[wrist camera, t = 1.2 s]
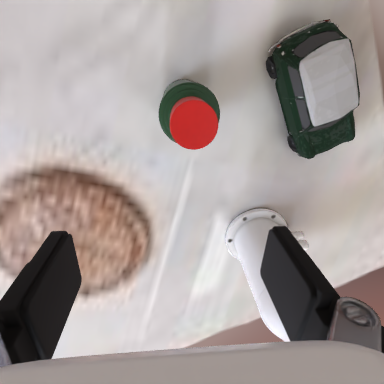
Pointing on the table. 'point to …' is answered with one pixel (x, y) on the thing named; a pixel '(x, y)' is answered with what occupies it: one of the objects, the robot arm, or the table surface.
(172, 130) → the cap
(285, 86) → the miniature car
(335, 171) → the table surface
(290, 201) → the table surface
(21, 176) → the table surface
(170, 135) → the bottle
